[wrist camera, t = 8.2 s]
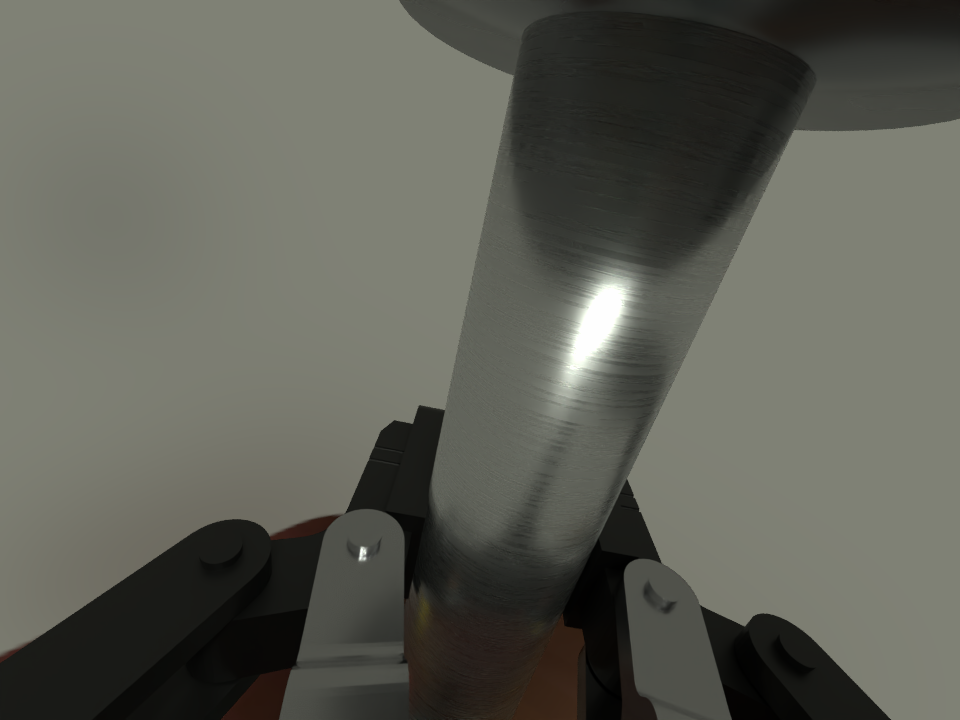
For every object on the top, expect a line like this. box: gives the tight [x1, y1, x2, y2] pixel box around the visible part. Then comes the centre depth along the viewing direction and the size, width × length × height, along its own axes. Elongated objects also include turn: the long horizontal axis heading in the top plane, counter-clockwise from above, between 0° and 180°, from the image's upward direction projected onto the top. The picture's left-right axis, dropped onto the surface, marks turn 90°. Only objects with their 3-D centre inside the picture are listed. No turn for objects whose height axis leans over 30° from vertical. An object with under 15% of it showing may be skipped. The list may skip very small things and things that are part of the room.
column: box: [400, 0, 960, 720], centre depth 9 cm, size 6×6×24 cm
